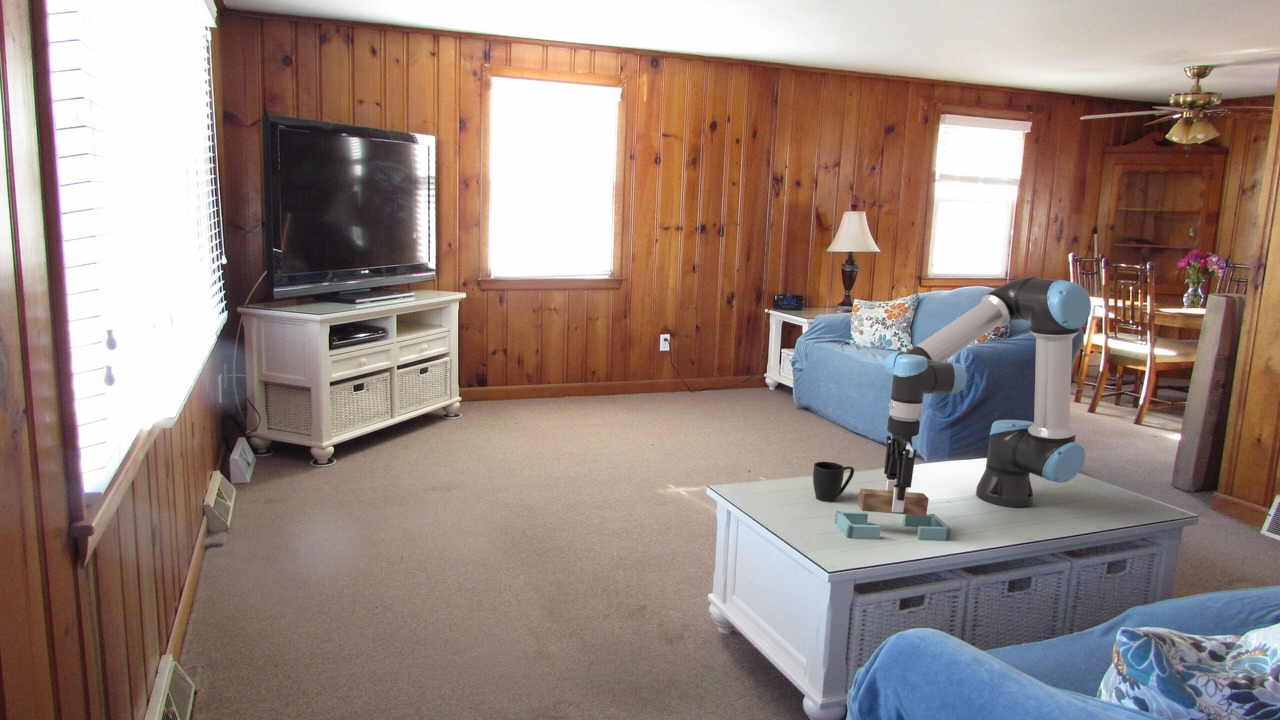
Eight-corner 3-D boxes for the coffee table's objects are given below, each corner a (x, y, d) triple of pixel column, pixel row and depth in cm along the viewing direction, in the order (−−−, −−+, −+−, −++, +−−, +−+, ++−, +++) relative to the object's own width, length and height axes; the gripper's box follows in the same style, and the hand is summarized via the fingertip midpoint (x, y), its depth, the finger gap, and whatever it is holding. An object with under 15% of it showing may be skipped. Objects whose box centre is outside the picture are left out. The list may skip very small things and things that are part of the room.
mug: (858, 502, 237) (862, 469, 235) (820, 504, 233) (823, 470, 231) (843, 492, 244) (846, 460, 243) (805, 494, 241) (808, 462, 239)
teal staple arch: (932, 525, 222) (934, 513, 222) (950, 540, 212) (951, 528, 211) (902, 524, 221) (904, 513, 221) (918, 539, 211) (920, 528, 211)
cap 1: (847, 537, 210) (849, 526, 209) (834, 522, 220) (836, 511, 219) (879, 538, 210) (880, 527, 210) (865, 523, 221) (866, 512, 220)
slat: (920, 510, 217) (923, 493, 216) (926, 515, 213) (928, 498, 212) (858, 505, 217) (860, 488, 216) (862, 511, 213) (864, 493, 212)
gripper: (877, 408, 219) (867, 496, 223) (903, 425, 202) (891, 520, 206) (905, 410, 220) (895, 497, 224) (933, 427, 203) (922, 521, 207)
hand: (893, 508), depth 215 cm, fingers closed on slat, 4 cm apart
